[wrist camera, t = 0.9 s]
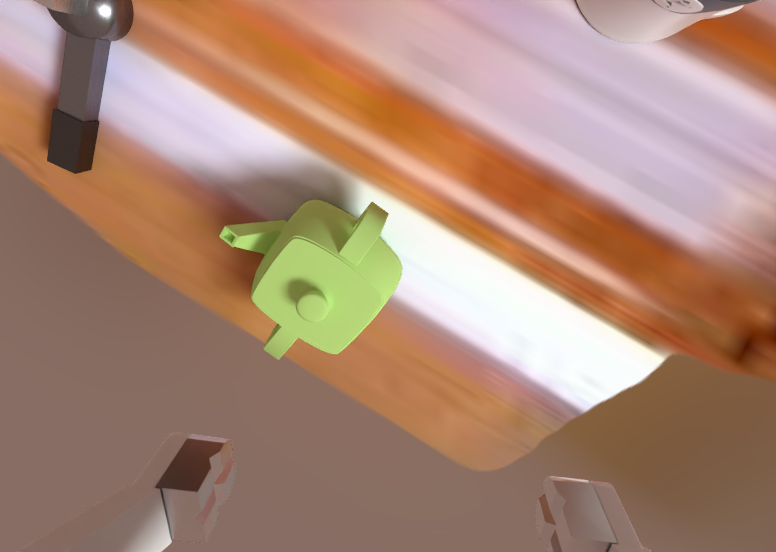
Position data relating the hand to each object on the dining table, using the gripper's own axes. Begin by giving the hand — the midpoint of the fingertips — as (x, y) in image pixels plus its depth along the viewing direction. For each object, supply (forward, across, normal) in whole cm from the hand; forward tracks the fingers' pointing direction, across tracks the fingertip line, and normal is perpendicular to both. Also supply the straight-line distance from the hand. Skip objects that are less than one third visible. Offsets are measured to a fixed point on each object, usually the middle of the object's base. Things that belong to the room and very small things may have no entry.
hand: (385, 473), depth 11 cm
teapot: (+40, +10, +10) cm, 43 cm away
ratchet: (+40, +36, -7) cm, 54 cm away
